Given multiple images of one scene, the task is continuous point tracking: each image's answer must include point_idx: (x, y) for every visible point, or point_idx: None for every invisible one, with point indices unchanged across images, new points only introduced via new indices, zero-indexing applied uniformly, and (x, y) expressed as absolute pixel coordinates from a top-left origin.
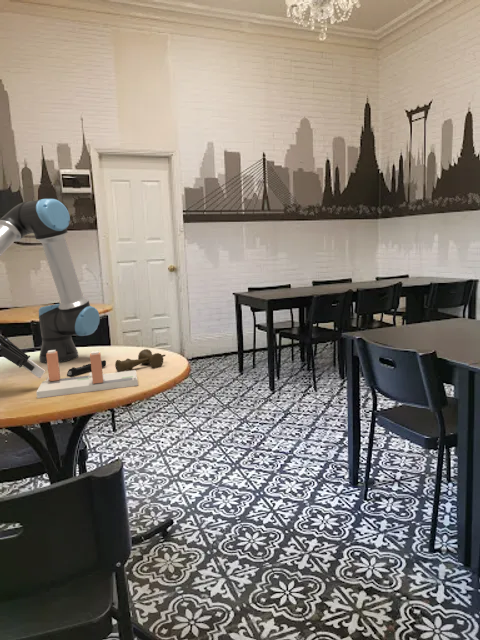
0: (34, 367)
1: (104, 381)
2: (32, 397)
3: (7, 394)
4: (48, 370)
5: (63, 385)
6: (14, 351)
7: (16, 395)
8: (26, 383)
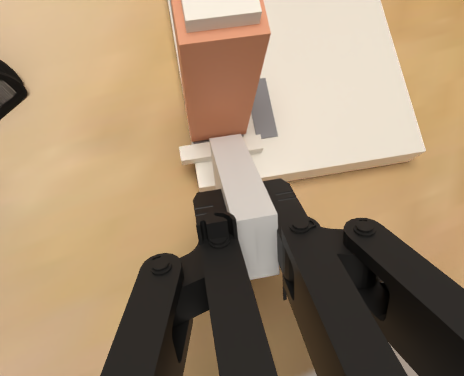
0: (275, 179)
1: None
2: (387, 191)
3: (300, 365)
4: (252, 103)
5: (331, 44)
6: (370, 331)
7: None
8: (73, 339)
